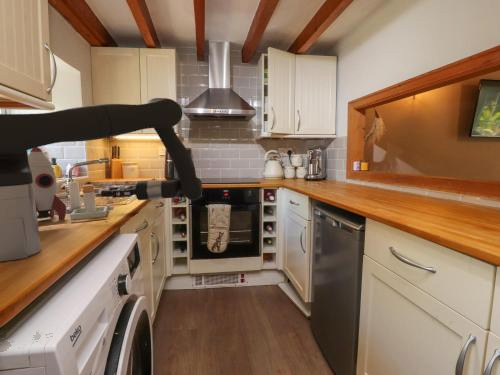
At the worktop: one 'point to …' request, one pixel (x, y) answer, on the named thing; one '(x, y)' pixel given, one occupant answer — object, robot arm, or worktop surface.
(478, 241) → the worktop surface
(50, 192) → the toy
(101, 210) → the tray
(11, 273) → the worktop surface
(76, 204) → the cylinder
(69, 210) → the holder
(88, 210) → the cylinder
